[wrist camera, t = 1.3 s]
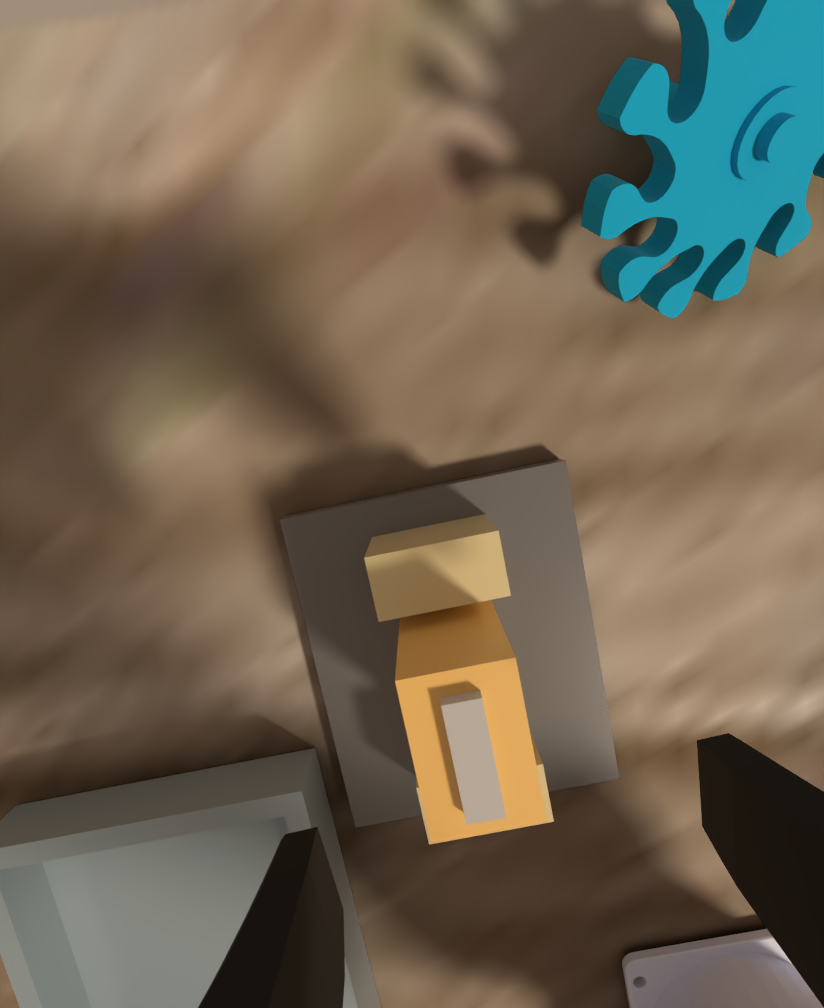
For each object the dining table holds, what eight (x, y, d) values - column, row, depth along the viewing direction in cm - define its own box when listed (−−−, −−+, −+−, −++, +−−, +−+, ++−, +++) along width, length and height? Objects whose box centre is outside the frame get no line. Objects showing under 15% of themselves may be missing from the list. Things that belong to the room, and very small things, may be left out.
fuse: (508, 703, 20) (551, 833, 14) (426, 719, 20) (432, 855, 14) (484, 585, 19) (519, 664, 13) (401, 602, 19) (394, 688, 13)
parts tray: (381, 1011, 23) (377, 1083, 20) (103, 1059, 23) (66, 1135, 21) (314, 748, 21) (301, 790, 19) (16, 805, 21) (-36, 854, 19)
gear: (609, 380, 17) (628, -45, 10) (511, 298, 21) (465, -60, 13) (893, 224, 18) (1127, -291, 10) (751, 170, 22) (844, -241, 14)
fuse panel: (611, 765, 21) (654, 839, 17) (357, 813, 21) (345, 895, 18) (559, 459, 19) (594, 467, 16) (284, 515, 20) (254, 537, 16)
